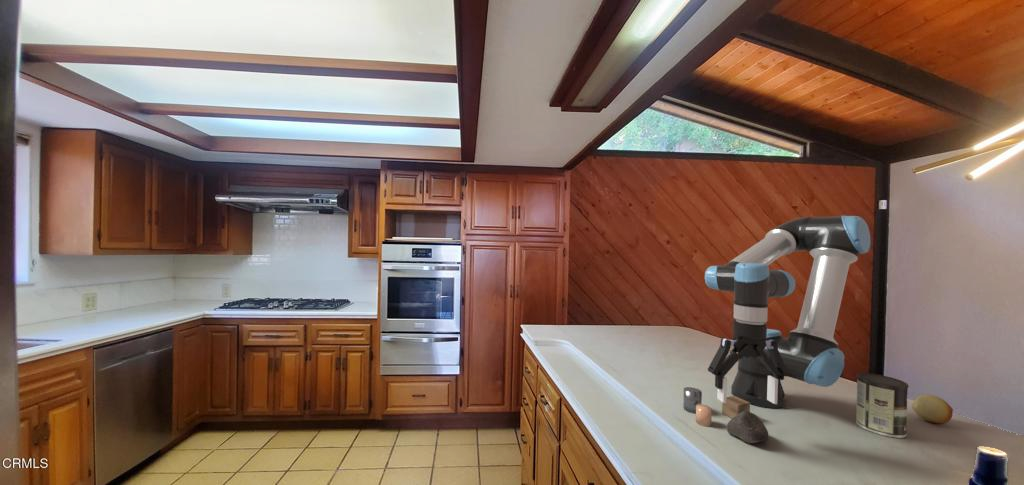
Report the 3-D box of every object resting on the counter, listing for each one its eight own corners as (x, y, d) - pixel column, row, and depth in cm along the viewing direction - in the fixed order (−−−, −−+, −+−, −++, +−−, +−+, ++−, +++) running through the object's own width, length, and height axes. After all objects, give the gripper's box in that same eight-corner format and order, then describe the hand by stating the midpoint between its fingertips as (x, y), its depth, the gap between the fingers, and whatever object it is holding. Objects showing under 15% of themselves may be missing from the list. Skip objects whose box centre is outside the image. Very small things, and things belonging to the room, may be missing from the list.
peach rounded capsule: (706, 419, 106) (706, 404, 106) (714, 426, 102) (714, 410, 102) (693, 419, 106) (693, 404, 106) (700, 426, 102) (700, 410, 102)
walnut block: (733, 411, 112) (734, 395, 112) (749, 419, 107) (750, 402, 107) (722, 414, 110) (722, 397, 110) (737, 422, 105) (738, 405, 105)
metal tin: (695, 406, 115) (696, 387, 115) (704, 413, 110) (705, 393, 110) (680, 406, 114) (680, 387, 114) (688, 413, 109) (688, 393, 109)
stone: (734, 440, 102) (714, 419, 100) (756, 419, 102) (736, 397, 100) (762, 467, 93) (741, 444, 91) (786, 444, 93) (766, 420, 90)
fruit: (920, 414, 113) (921, 388, 113) (959, 427, 105) (960, 400, 105) (904, 416, 111) (905, 390, 111) (943, 430, 103) (944, 402, 103)
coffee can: (891, 423, 106) (893, 375, 106) (916, 441, 97) (918, 389, 97) (847, 416, 110) (849, 370, 110) (867, 433, 100) (869, 382, 100)
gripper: (784, 319, 100) (781, 396, 100) (695, 317, 99) (693, 394, 99) (807, 326, 92) (804, 408, 93) (711, 323, 92) (708, 406, 92)
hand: (746, 401), depth 96 cm, fingers open, 13 cm apart
